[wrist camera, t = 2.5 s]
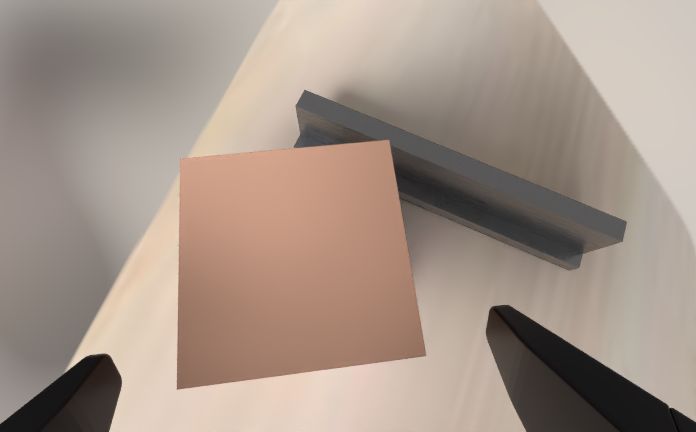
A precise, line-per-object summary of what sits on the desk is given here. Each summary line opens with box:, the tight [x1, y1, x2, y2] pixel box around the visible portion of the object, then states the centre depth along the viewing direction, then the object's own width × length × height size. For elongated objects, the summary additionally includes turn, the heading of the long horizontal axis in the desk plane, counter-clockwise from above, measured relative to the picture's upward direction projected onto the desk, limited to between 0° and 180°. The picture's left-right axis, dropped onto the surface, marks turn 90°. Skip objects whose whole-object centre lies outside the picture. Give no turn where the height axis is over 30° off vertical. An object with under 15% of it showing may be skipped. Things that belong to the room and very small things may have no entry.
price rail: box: [294, 90, 627, 270], centre depth 18 cm, size 2×16×4 cm, turn 66°
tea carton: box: [177, 140, 426, 389], centre depth 14 cm, size 6×6×10 cm
